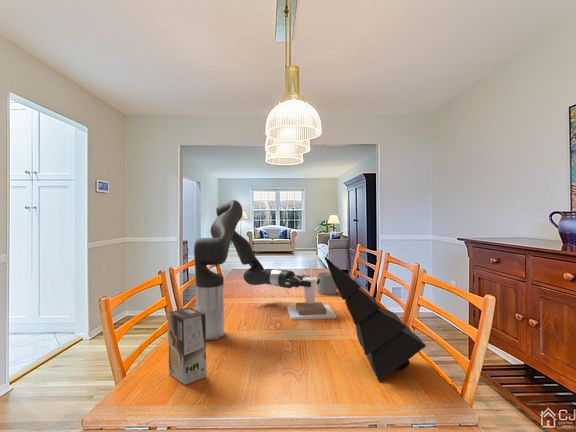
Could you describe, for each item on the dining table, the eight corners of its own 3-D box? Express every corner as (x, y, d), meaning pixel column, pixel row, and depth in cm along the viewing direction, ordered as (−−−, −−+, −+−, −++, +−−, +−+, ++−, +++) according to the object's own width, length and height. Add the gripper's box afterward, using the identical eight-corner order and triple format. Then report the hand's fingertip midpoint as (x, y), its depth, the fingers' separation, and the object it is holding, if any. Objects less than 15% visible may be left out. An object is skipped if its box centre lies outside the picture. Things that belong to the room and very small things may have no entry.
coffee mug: (318, 295, 168) (318, 275, 168) (316, 290, 178) (316, 272, 178) (344, 295, 168) (344, 275, 168) (341, 290, 178) (341, 271, 178)
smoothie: (316, 304, 134) (316, 269, 134) (301, 303, 135) (301, 269, 135) (318, 299, 140) (318, 267, 140) (303, 299, 142) (303, 266, 141)
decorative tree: (374, 368, 95) (302, 268, 96) (417, 338, 94) (343, 238, 95) (388, 395, 80) (302, 278, 81) (438, 360, 80) (351, 243, 81)
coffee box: (207, 376, 84) (207, 313, 84) (184, 386, 80) (183, 319, 80) (190, 365, 91) (189, 306, 91) (167, 373, 86) (166, 311, 86)
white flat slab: (336, 318, 131) (336, 310, 131) (291, 319, 129) (290, 312, 129) (327, 306, 146) (327, 300, 146) (287, 308, 145) (287, 301, 145)
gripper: (272, 272, 140) (305, 276, 130) (291, 267, 152) (323, 271, 142) (272, 290, 140) (305, 295, 131) (291, 284, 152) (323, 288, 142)
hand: (315, 283), depth 136 cm, fingers closed on smoothie, 6 cm apart
